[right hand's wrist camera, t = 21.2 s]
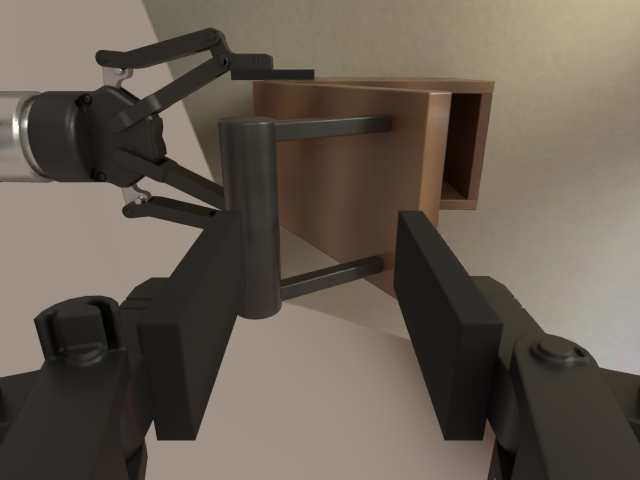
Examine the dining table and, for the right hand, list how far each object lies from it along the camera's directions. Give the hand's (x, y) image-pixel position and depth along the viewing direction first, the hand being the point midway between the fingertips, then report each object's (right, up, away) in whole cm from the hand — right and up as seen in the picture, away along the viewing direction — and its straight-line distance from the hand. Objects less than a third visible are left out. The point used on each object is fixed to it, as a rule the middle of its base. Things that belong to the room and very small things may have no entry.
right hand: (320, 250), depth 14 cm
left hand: (0, +9, +23) cm, 25 cm away
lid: (+1, +4, +11) cm, 12 cm away
